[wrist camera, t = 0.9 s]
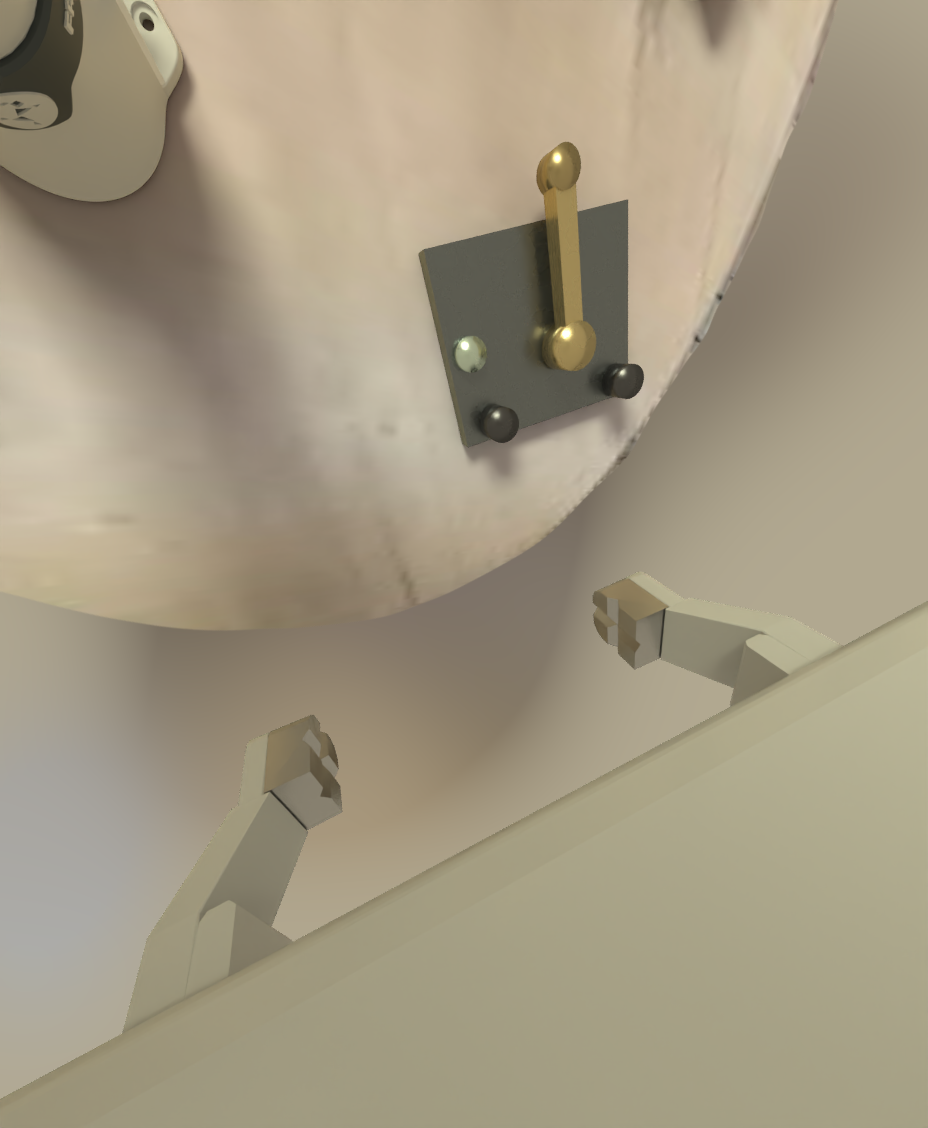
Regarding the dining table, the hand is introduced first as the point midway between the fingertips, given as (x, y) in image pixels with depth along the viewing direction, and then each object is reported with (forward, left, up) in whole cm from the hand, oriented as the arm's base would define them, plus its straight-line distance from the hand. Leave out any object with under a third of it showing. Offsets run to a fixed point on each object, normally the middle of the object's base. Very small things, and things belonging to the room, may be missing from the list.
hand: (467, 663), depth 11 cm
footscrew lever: (-8, +28, -39) cm, 49 cm away
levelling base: (-3, +26, -42) cm, 49 cm away
